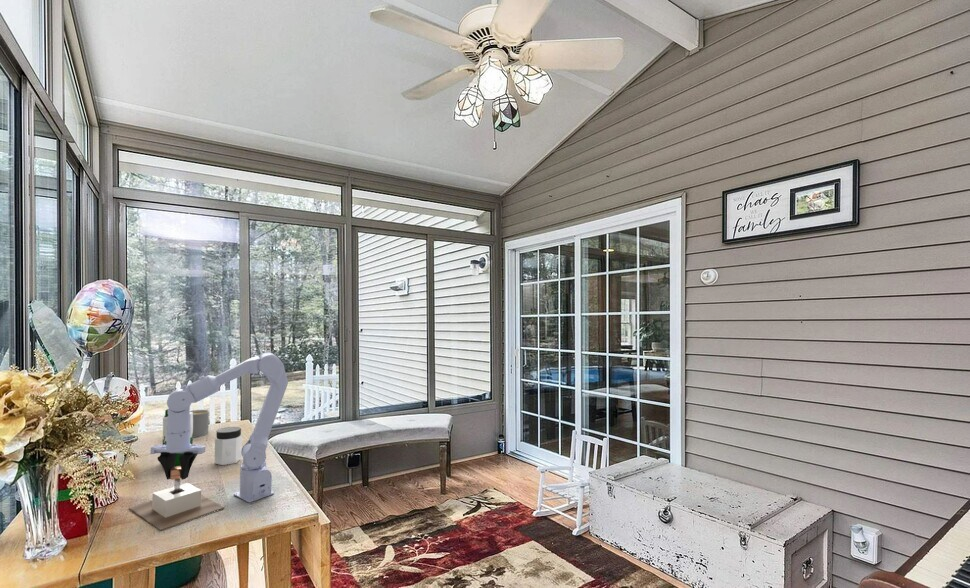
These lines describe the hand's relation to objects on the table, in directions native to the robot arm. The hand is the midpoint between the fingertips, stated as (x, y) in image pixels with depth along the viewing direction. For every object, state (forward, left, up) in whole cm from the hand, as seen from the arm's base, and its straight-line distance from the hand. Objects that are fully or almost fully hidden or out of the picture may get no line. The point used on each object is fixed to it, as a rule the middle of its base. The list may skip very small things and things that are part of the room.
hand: (177, 478), depth 130 cm
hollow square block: (0, 0, -9) cm, 9 cm away
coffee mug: (+76, -35, -9) cm, 84 cm away
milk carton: (+41, -16, -9) cm, 45 cm away
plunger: (0, 0, -4) cm, 4 cm away
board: (0, 0, -9) cm, 9 cm away
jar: (+28, -28, -9) cm, 41 cm away
